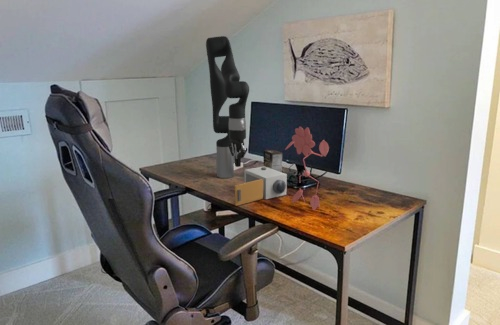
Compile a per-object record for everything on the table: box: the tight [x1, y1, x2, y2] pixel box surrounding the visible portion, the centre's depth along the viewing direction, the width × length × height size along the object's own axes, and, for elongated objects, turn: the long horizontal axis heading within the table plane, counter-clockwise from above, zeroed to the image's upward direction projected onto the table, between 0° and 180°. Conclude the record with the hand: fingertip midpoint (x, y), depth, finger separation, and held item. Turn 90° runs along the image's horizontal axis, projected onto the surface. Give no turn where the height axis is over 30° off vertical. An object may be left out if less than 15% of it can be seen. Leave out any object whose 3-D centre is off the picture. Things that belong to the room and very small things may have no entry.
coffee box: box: [263, 149, 283, 173], centre depth 201 cm, size 9×6×16 cm
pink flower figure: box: [284, 126, 330, 217], centre depth 159 cm, size 15×26×35 cm, turn 35°
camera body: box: [243, 165, 288, 200], centre depth 183 cm, size 20×12×11 cm, turn 33°
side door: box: [234, 179, 264, 207], centre depth 169 cm, size 16×2×9 cm, turn 129°
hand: (237, 166), depth 172 cm, fingers closed
